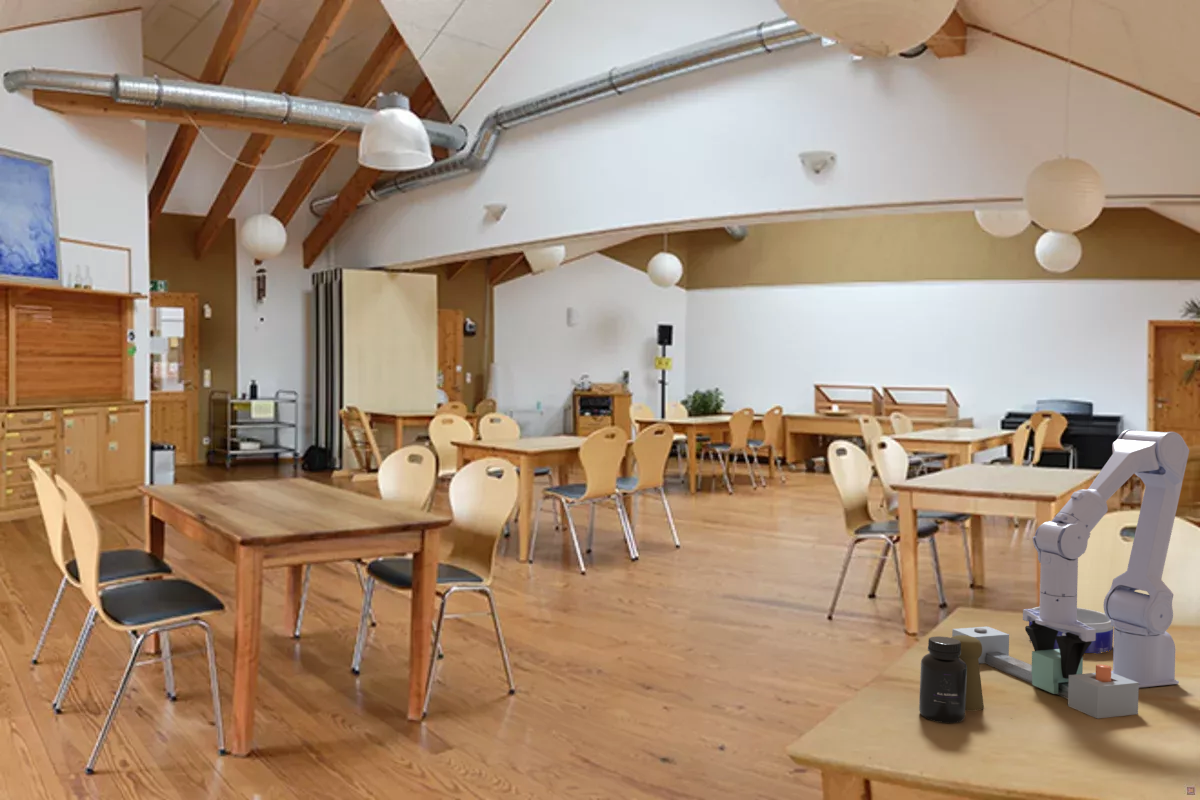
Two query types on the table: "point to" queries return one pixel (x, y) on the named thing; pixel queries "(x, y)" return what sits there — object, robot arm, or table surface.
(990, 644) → the far cabinet
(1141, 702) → the table surface
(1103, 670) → the orange rounded knob
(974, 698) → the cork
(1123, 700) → the end cabinet
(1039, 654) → the block
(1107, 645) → the dog bowl
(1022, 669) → the rail
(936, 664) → the supplement bottle
